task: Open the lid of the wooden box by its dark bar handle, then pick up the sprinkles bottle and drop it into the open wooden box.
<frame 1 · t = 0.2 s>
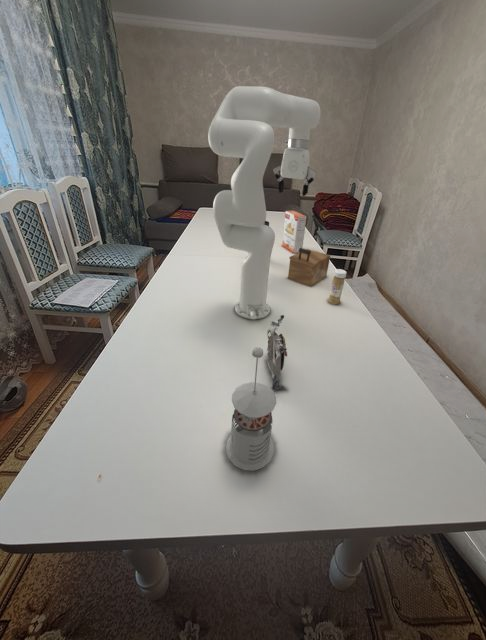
hand: (292, 193, 116), 37 cm above the table, tool pointing down, fingers open, 9 cm apart
french press: (252, 444, 60), on the table
travel mug: (259, 260, 152), on the table
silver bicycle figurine: (275, 370, 80), on the table
cracker box: (291, 249, 172), on the table
wooden box: (307, 277, 137), on the table
sprinkles bottle: (333, 302, 117), on the table
lid: (311, 252, 131), point 13 cm above the table, hinge at 0.0°
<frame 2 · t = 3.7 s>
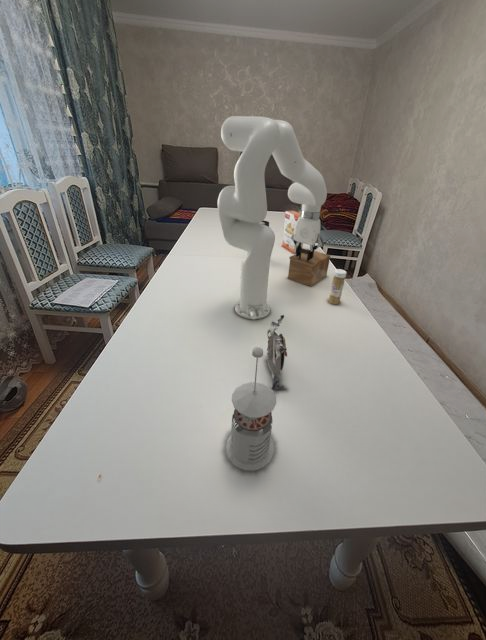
hand: (303, 257, 127), 12 cm above the table, tool pointing down, fingers closed on lid, 5 cm apart
lid: (311, 252, 131), point 13 cm above the table, hinge at 0.0°, touching gripper
everything else where it was.
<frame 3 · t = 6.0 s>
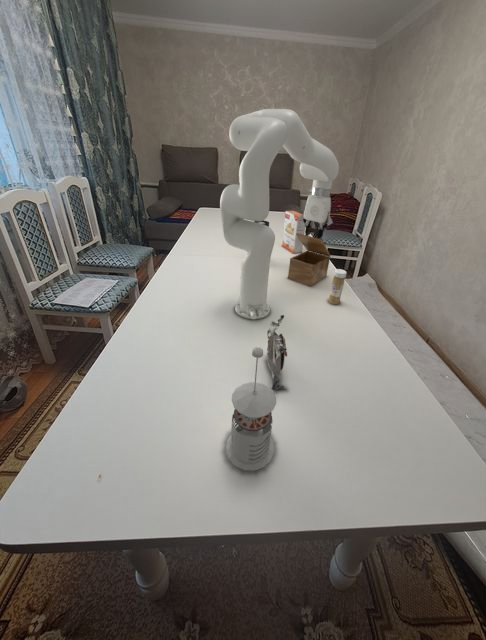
hand: (313, 236, 127), 20 cm above the table, tool pointing down, fingers closed on lid, 5 cm apart
lid: (315, 240, 131), point 17 cm above the table, hinge at 38.2°, touching gripper
everything else where it was.
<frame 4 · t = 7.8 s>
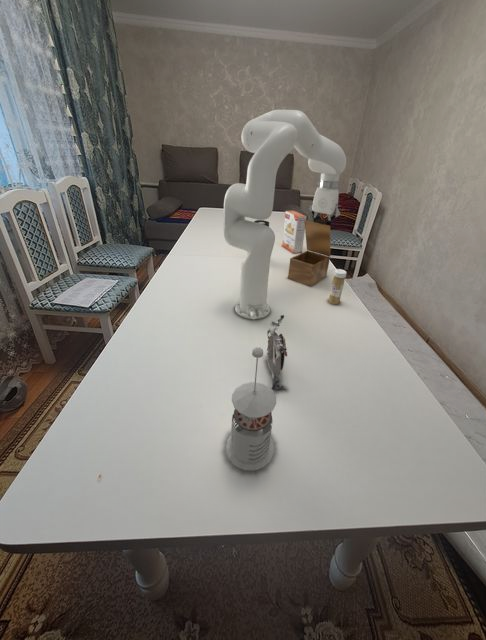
hand: (321, 227, 131), 22 cm above the table, tool pointing down, fingers closed on lid, 5 cm apart
lid: (320, 235, 133), point 19 cm above the table, hinge at 65.8°, touching gripper
everything else where it was.
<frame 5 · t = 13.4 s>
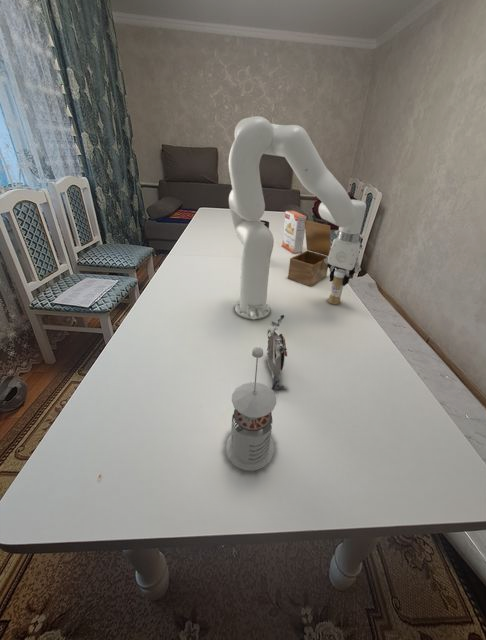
hand: (338, 282, 113), 9 cm above the table, tool pointing down, fingers closed on sprinkles bottle, 4 cm apart
sprinkles bottle: (333, 302, 117), on the table, touching gripper
lid: (320, 235, 133), point 19 cm above the table, hinge at 65.9°
everything else where it was.
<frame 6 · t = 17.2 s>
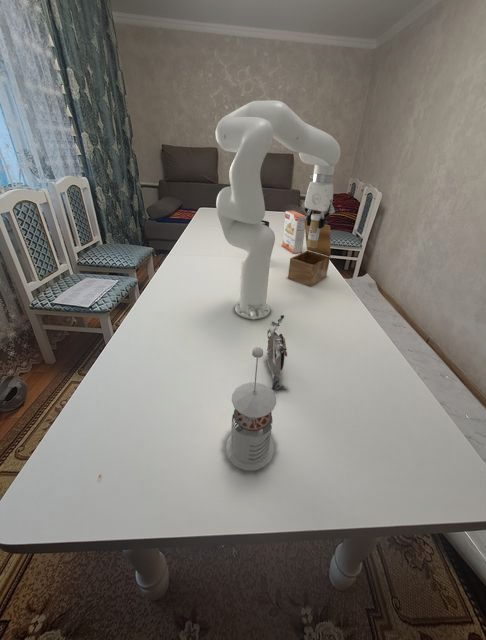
hand: (315, 226, 121), 25 cm above the table, tool pointing down, fingers closed on sprinkles bottle, 4 cm apart
sprinkles bottle: (311, 247, 125), point 16 cm above the table, touching gripper
everything else where it was.
when the fingers open (10 cm above the table, at t = 21.3 s): sprinkles bottle stays where it is, resting on wooden box.
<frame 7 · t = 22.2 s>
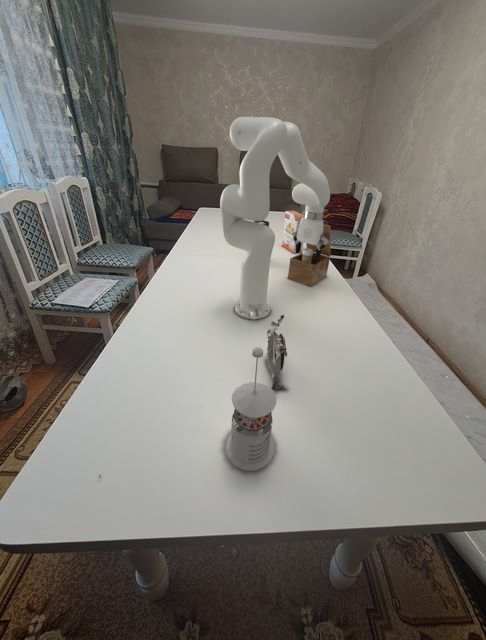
hand: (307, 255, 129), 12 cm above the table, tool pointing down, fingers open, 9 cm apart
sprinkles bottle: (303, 278, 134), point 1 cm above the table, touching wooden box
everything else where it was.
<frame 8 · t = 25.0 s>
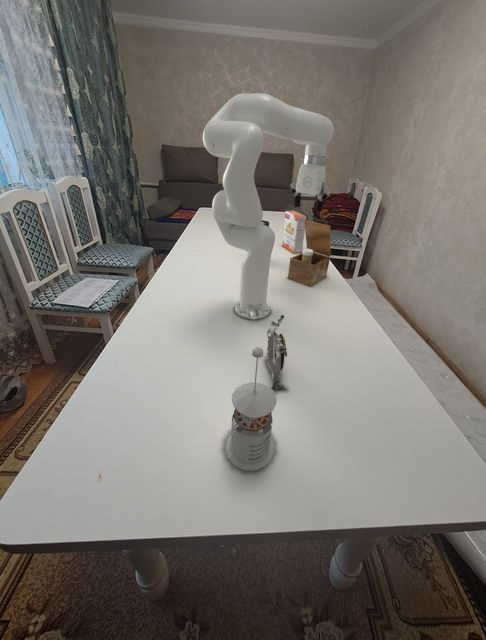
hand: (307, 209, 115), 32 cm above the table, tool pointing down, fingers open, 9 cm apart
nothing on the table moved.
at the end: lid at +66° (first picture: +0°); sprinkles bottle inside the target area in the wooden box (3.5 cm from its centre), point 0.6 cm above the wooden box's base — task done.
